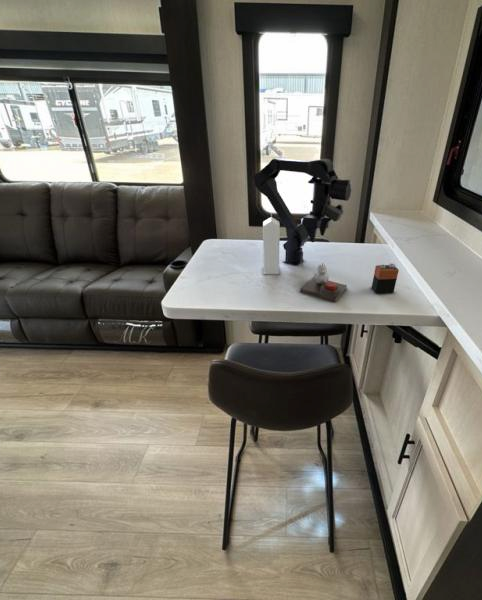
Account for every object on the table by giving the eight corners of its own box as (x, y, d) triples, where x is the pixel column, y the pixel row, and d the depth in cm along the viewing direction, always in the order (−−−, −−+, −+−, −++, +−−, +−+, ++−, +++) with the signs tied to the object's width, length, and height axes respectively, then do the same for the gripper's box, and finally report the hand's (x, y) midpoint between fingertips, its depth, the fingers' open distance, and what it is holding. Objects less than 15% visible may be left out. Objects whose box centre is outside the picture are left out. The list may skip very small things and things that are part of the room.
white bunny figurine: (314, 286, 106) (316, 265, 102) (311, 278, 112) (312, 257, 108) (329, 286, 107) (332, 265, 103) (325, 277, 113) (327, 257, 109)
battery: (394, 293, 107) (400, 267, 102) (375, 294, 106) (381, 267, 101) (388, 287, 111) (394, 261, 106) (370, 288, 110) (375, 262, 105)
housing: (299, 292, 105) (299, 283, 103) (313, 280, 114) (313, 271, 112) (335, 303, 100) (336, 293, 98) (347, 289, 109) (348, 280, 107)
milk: (278, 268, 123) (279, 212, 112) (279, 274, 117) (280, 217, 106) (263, 267, 122) (263, 212, 111) (263, 274, 117) (262, 217, 106)
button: (323, 289, 101) (324, 284, 101) (327, 285, 104) (328, 280, 103) (333, 292, 100) (334, 287, 99) (337, 287, 103) (338, 283, 102)
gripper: (332, 205, 100) (327, 250, 108) (350, 195, 114) (345, 235, 122) (301, 200, 105) (299, 244, 113) (323, 192, 119) (319, 231, 127)
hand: (317, 238), depth 118 cm, fingers open, 9 cm apart
